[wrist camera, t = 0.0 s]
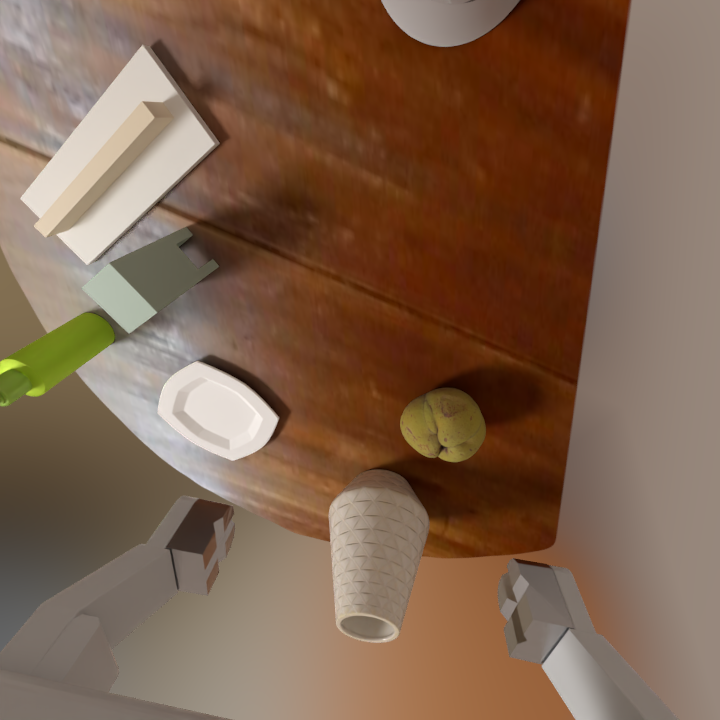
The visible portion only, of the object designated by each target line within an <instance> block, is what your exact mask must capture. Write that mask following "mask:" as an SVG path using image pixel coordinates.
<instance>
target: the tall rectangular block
mask: <svg viewBox="0 0 720 720" xmlns="http://www.w3.org/2000/svg"><path fill="white" fill-rule="evenodd" d="M191 236H193V234H192V233H191V232H190V231H189V230H188V228H187V227H185V228H183V229H181V230H178V231H176V232H174V233H172V234H170V235H168V236H166V237H163V238H161V239H159V240H157V241H155V242H153V243H151V244H149V245H146V246H144V247H142V248H140V249H138V250H136V251H134V252H131V253H129V254H127V255H125V256H123V257H121V258H119V259H117V260H114V261H112V262H110V263H109V264H107V265H106V266H105V267H104V268H103V269H102V270H101V271H100V272H99V273H98V274H96V275H95V276H94V277H93V278H92V279H91V280H90V281H89V282H88V283H87V284H86V285H84V286H83V287H82V289H83V290H84V291H85V292H86V293H87V294H88V295H89V296H90V297H91V298H92V299H93V300H94V301H95V302H96V303H97V304H98V305H99V306H101V307H102V308H103V309H104V310H105V311H106V312H107V313H108V314H109V315H110V316H111V317H112V318H113V319H114V320H115V321H116V322H117V323H118V324H119V325H120V326H121V327H122V328H123V329H125V330H126V331H127V332H128V333H129V334H130V333H131V332H132V331H134V330H135V329H136V328H138V327H139V326H140V325H142V324H143V323H144V322H146V321H147V320H148V319H150V318H151V317H152V316H154V315H155V314H156V313H158V312H159V311H160V310H162V309H163V308H164V307H166V306H167V305H168V304H170V303H171V302H173V301H174V300H175V299H177V298H178V297H179V296H181V295H182V294H183V293H185V292H186V291H187V290H189V289H190V288H191V287H193V286H194V285H195V284H197V283H198V282H199V281H201V280H202V279H203V278H205V277H206V276H207V275H209V274H210V273H211V272H213V271H214V270H215V269H217V268H218V267H219V265H218V264H217V263H216V262H215V261H214V260H213V259H212V260H211V261H209V262H208V263H206V264H205V265H203V266H202V267H200V268H199V269H197V268H196V267H195V265H194V264H193V263H192V262H191V261H190V260H189V258H188V257H187V256H186V255H185V254H184V253H183V252H182V250H181V249H180V248H179V246H181V245H182V244H183V243H184V242H185V241H187V240H188V239H189V238H190V237H191Z"/></svg>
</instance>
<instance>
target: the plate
mask: <svg viewBox="0 0 720 720" xmlns="http://www.w3.org/2000/svg"><path fill="white" fill-rule="evenodd" d="M158 414H159V415H160V416H161V417H162V418H163V419H164V420H165V421H166V422H167V423H168V424H170V425H171V426H172V427H173V428H174V429H175V430H176V431H178V432H179V433H180V434H181V435H183V436H184V437H185V438H187V439H188V440H189V441H191V442H192V443H194V444H196V445H198V446H199V447H201V448H203V449H206V450H208V451H210V452H212V453H214V454H217V455H219V456H222V457H224V458H227V459H229V460H232V461H234V460H237V459H240V458H242V457H245V456H247V455H250V454H252V453H254V452H256V451H258V450H259V449H261V448H262V447H263V446H264V445H265V444H266V443H267V442H268V441H269V439H270V438H271V436H272V434H273V432H274V430H275V428H276V426H277V423H278V421H279V416H278V415H277V414H276V413H275V412H274V410H273V409H272V408H271V407H270V406H269V405H268V404H267V403H266V402H265V401H264V400H263V399H262V398H261V397H260V396H259V395H258V394H257V393H256V392H255V391H254V390H252V389H251V388H250V387H249V386H248V385H246V384H245V383H243V382H242V381H240V380H238V379H237V378H235V377H233V376H231V375H229V374H227V373H225V372H223V371H221V370H219V369H217V368H215V367H212V366H210V365H208V364H205V363H203V362H200V361H196V362H194V363H192V364H190V365H188V366H186V367H185V368H183V369H181V370H179V371H178V372H177V373H175V374H174V375H173V376H171V377H170V378H169V380H168V381H167V382H166V383H165V385H164V387H163V389H162V392H161V395H160V400H159V406H158Z"/></svg>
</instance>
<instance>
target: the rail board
mask: <svg viewBox="0 0 720 720" xmlns="http://www.w3.org/2000/svg"><path fill="white" fill-rule="evenodd" d="M219 144H220V143H219V141H218V140H217V139H216V137H215V136H214V134H213V133H212V132H211V130H210V129H209V128H208V126H207V125H206V123H205V122H204V121H203V119H202V118H201V116H200V115H199V114H198V112H197V111H196V110H195V108H194V107H193V105H192V104H191V103H190V101H189V100H188V99H187V97H186V96H185V94H184V93H183V92H182V90H181V89H180V87H179V86H178V85H177V83H176V82H175V81H174V79H173V78H172V76H171V75H170V74H169V72H168V71H167V69H166V68H165V67H164V65H163V64H162V63H161V61H160V60H159V58H158V57H157V56H156V54H155V53H154V51H153V50H152V49H151V47H149V46H145V45H142V46H141V47H140V49H139V50H138V51H137V52H136V54H135V55H134V56H133V57H132V59H131V60H130V61H129V62H128V64H127V65H126V66H125V68H124V69H123V70H122V71H121V73H120V74H119V75H118V76H117V78H116V79H115V80H114V81H113V83H112V84H111V85H110V86H109V88H108V89H107V90H106V91H105V93H104V94H103V95H102V96H101V98H100V99H99V100H98V101H97V103H96V104H95V105H94V106H93V108H92V109H91V110H90V111H89V113H88V114H87V115H86V117H85V118H84V119H83V120H82V122H81V123H80V124H79V125H78V127H77V128H76V129H75V130H74V132H73V133H72V134H71V135H70V137H69V138H68V139H67V140H66V142H65V143H64V144H63V145H62V147H61V148H60V149H59V150H58V152H57V153H56V154H55V155H54V157H53V158H52V159H51V161H50V162H49V163H48V164H47V166H46V167H45V168H44V169H43V171H42V172H41V173H40V174H39V176H38V177H37V178H36V179H35V181H34V182H33V183H32V184H31V186H30V187H29V188H28V189H27V191H26V192H25V193H24V194H23V196H22V197H21V198H20V199H21V200H22V201H23V202H24V203H25V204H26V205H27V206H28V207H29V208H30V209H31V210H32V211H33V212H34V213H35V214H36V215H37V216H38V217H39V218H40V219H39V221H38V222H37V223H36V224H35V225H34V227H35V228H36V229H37V230H38V231H39V232H40V233H41V234H42V235H43V236H44V237H45V238H46V237H49V236H52V235H55V234H56V235H57V236H58V237H59V238H60V239H61V240H62V241H63V242H64V243H65V244H66V245H67V246H68V247H69V248H70V249H71V250H72V251H73V252H74V253H75V254H76V255H77V256H78V257H79V258H80V259H81V260H83V261H84V262H85V263H86V264H87V265H89V264H91V263H94V262H95V261H96V260H97V259H98V258H99V257H100V256H101V255H102V254H103V253H104V252H105V251H106V250H108V249H109V248H110V247H111V246H112V245H113V244H114V243H115V242H116V241H117V240H118V239H119V238H120V237H121V236H122V235H123V234H125V233H126V232H127V231H128V230H129V229H130V228H131V227H132V226H133V225H134V224H135V223H136V222H137V221H138V220H139V219H140V218H141V217H143V216H144V215H145V214H146V213H147V212H148V211H149V210H150V209H151V208H152V207H153V206H154V205H155V204H156V203H157V202H158V201H159V200H161V199H162V198H163V197H164V196H165V195H166V194H167V193H168V192H169V191H170V190H171V189H172V188H173V187H174V186H175V185H176V184H178V183H179V182H180V181H181V180H182V179H183V178H184V177H185V176H186V175H187V174H188V173H189V172H190V171H191V170H192V169H193V168H194V167H196V166H197V165H198V164H199V163H200V162H201V161H202V160H203V159H204V158H205V157H206V156H207V155H208V154H209V153H210V152H211V151H212V150H214V149H215V148H216V147H217V146H218V145H219Z"/></svg>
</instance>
